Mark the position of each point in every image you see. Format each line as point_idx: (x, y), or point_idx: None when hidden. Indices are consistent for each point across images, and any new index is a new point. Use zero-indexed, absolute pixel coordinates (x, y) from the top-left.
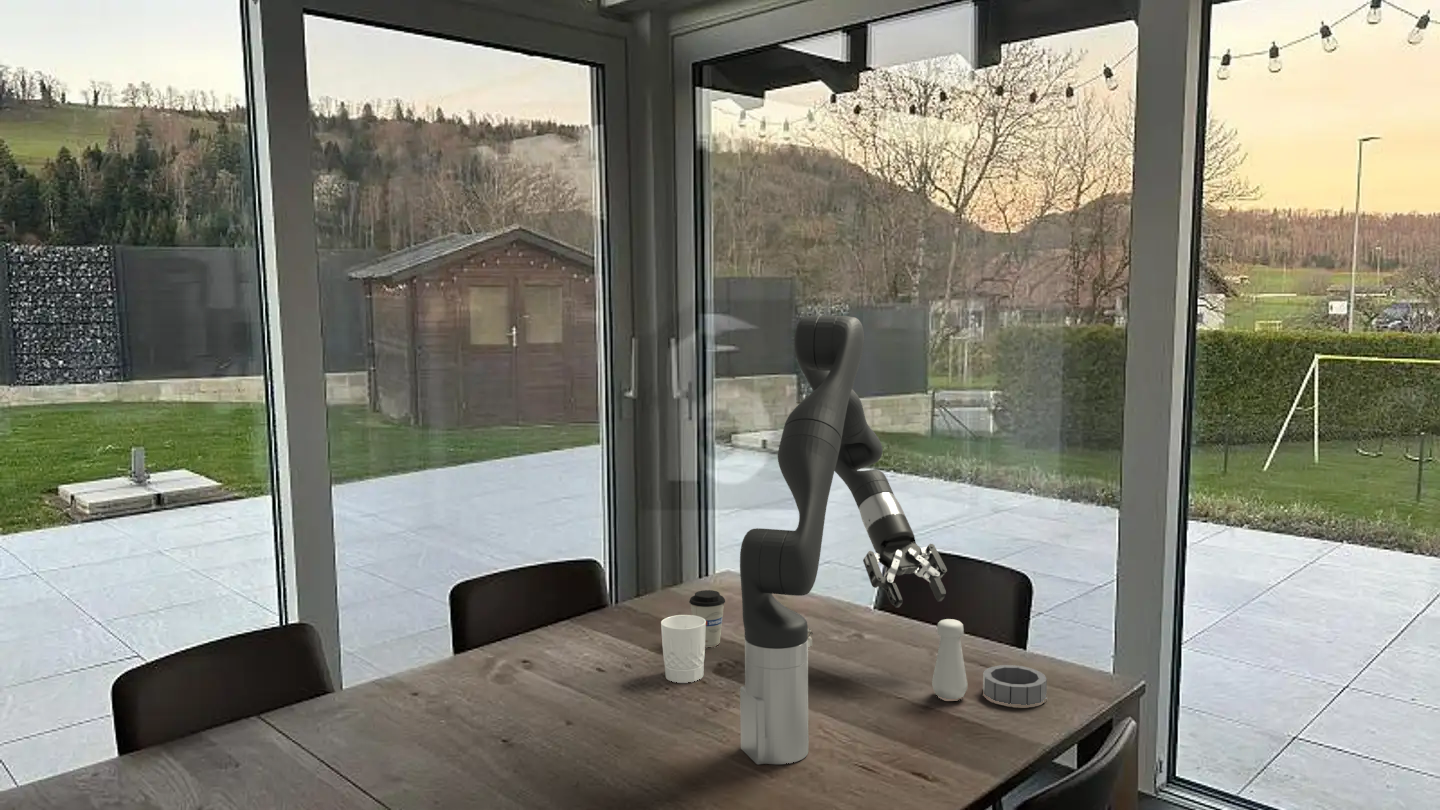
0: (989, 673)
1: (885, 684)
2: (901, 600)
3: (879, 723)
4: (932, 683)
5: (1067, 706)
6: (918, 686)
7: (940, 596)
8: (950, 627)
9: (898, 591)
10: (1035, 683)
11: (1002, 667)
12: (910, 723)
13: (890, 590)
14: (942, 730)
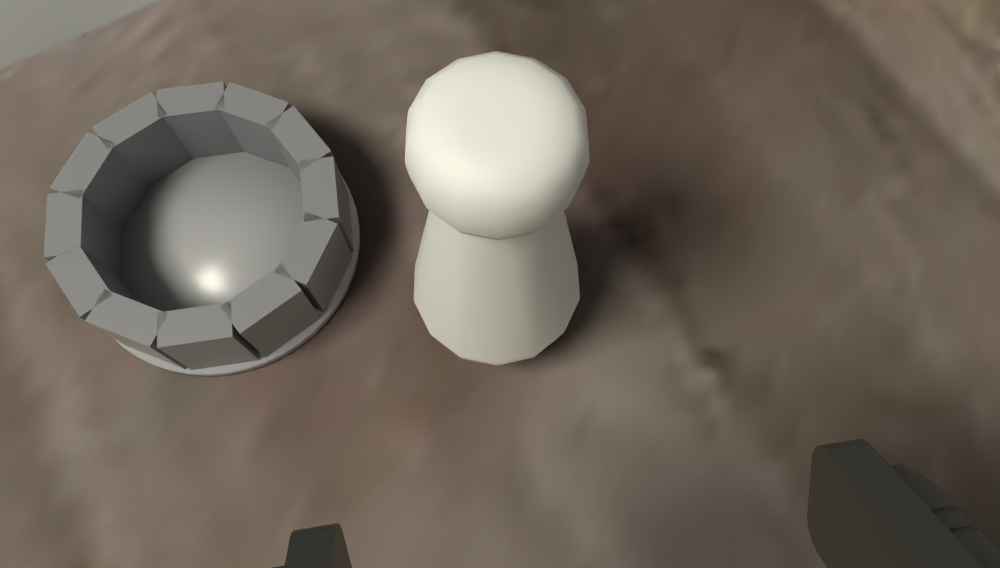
0: (287, 262)
1: (730, 531)
2: (838, 445)
3: (864, 150)
4: (579, 294)
5: (97, 112)
6: (580, 462)
7: (343, 550)
8: (532, 60)
9: (892, 517)
10: (165, 107)
11: (177, 315)
12: (748, 123)
13: (995, 556)
14: (654, 49)
